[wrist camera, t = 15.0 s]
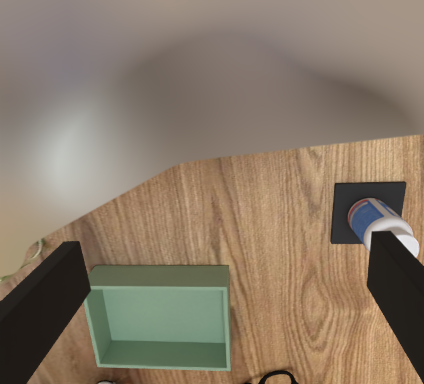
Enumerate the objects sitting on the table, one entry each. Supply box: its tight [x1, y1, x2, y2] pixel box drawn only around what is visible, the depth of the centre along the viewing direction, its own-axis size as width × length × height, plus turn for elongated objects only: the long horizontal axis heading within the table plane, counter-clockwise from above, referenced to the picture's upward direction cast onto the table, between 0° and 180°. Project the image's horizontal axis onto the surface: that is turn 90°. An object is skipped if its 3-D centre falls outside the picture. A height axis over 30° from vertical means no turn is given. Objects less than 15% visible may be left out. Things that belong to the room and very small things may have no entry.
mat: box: [331, 182, 406, 244], centre depth 46 cm, size 9×9×1 cm
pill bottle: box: [348, 198, 419, 257], centre depth 41 cm, size 6×5×10 cm
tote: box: [84, 265, 232, 371], centre depth 51 cm, size 15×21×6 cm
